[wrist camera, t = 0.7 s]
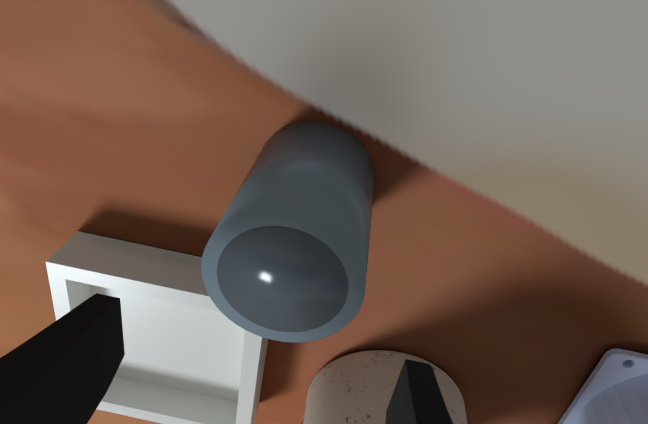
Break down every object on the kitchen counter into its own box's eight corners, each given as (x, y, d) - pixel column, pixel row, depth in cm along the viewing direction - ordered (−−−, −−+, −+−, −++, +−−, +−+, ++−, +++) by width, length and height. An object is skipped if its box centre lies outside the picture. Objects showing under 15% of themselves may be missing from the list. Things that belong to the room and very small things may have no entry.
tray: (277, 273, 24) (265, 308, 21) (259, 403, 29) (248, 442, 27) (77, 230, 24) (45, 261, 22) (94, 368, 29) (71, 403, 27)
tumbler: (386, 134, 19) (381, 232, 13) (361, 237, 22) (347, 357, 16) (263, 109, 19) (203, 195, 13) (252, 214, 22) (198, 325, 16)
